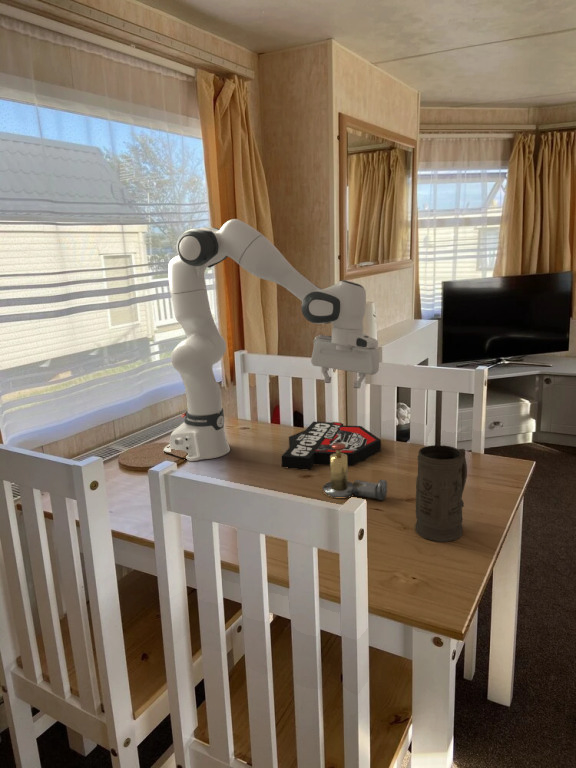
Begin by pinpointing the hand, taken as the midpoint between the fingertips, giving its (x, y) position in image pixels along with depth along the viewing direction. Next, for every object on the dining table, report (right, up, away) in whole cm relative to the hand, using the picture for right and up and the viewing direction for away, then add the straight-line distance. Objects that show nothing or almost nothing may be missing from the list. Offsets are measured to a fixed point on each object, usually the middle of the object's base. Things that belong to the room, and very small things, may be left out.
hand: (342, 385), depth 168 cm
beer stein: (+21, -33, -33) cm, 51 cm away
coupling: (+2, -29, -14) cm, 32 cm away
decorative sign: (-1, -22, +19) cm, 29 cm away
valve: (-2, -28, -12) cm, 30 cm away
